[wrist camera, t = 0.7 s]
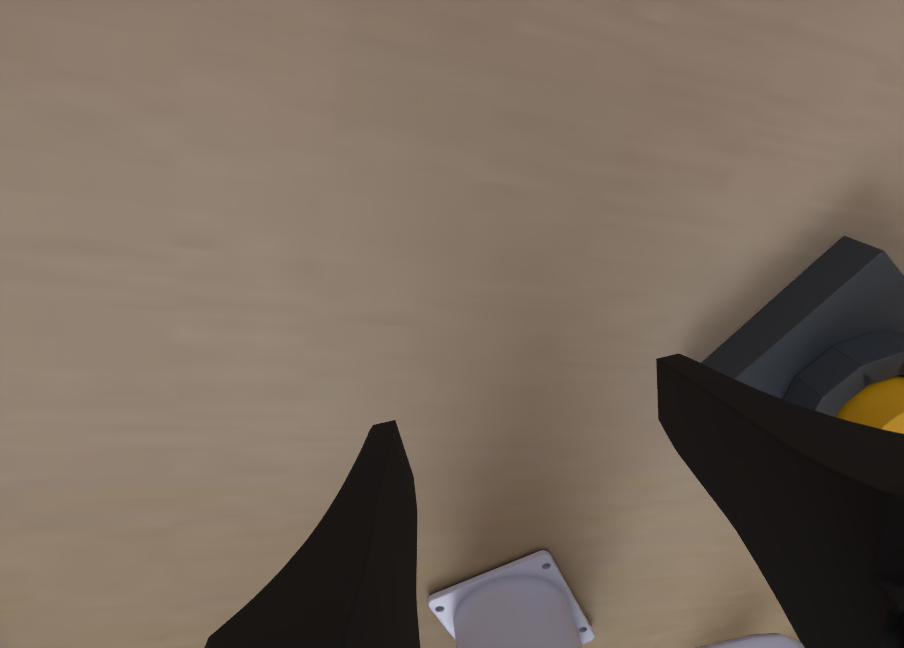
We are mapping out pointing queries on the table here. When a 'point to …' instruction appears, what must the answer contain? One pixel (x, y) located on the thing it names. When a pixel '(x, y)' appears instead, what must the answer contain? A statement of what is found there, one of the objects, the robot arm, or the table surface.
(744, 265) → the table surface
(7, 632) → the table surface
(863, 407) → the button
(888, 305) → the grey button base
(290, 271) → the table surface
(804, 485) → the robot arm
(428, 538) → the table surface
